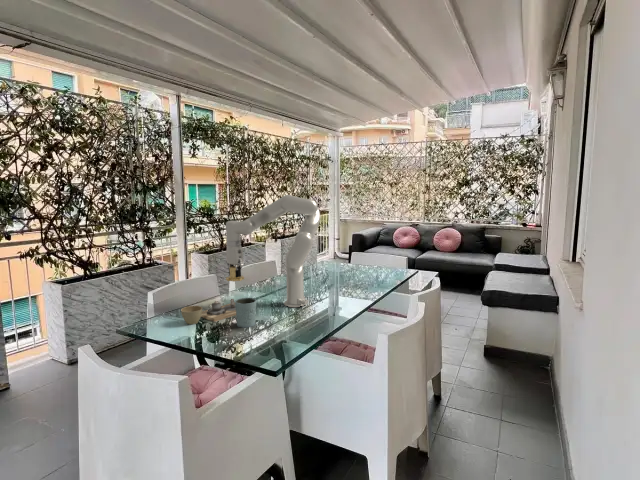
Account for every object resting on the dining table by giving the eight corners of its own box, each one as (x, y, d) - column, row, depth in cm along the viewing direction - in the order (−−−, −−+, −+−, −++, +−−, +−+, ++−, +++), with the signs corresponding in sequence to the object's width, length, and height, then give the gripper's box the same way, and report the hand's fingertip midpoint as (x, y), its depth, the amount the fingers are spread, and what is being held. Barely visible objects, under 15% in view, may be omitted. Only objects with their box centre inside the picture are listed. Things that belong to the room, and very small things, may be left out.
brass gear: (247, 279, 210) (247, 266, 209) (232, 282, 203) (232, 269, 202) (237, 276, 217) (236, 264, 216) (222, 279, 210) (222, 267, 209)
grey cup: (238, 320, 189) (237, 297, 187) (259, 320, 188) (258, 297, 187) (233, 328, 179) (232, 303, 177) (254, 328, 178) (254, 303, 177)
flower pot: (183, 327, 180) (182, 313, 179) (180, 321, 189) (179, 307, 188) (204, 324, 185) (204, 309, 184) (201, 318, 194) (200, 304, 193)
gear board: (253, 309, 207) (253, 296, 206) (214, 321, 188) (213, 307, 187) (236, 304, 216) (236, 291, 215) (197, 315, 197) (196, 302, 197)
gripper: (249, 244, 204) (250, 277, 207) (230, 241, 216) (231, 272, 218) (237, 245, 199) (238, 279, 201) (219, 242, 210) (220, 275, 213)
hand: (235, 275), depth 210 cm, fingers closed on brass gear, 5 cm apart
